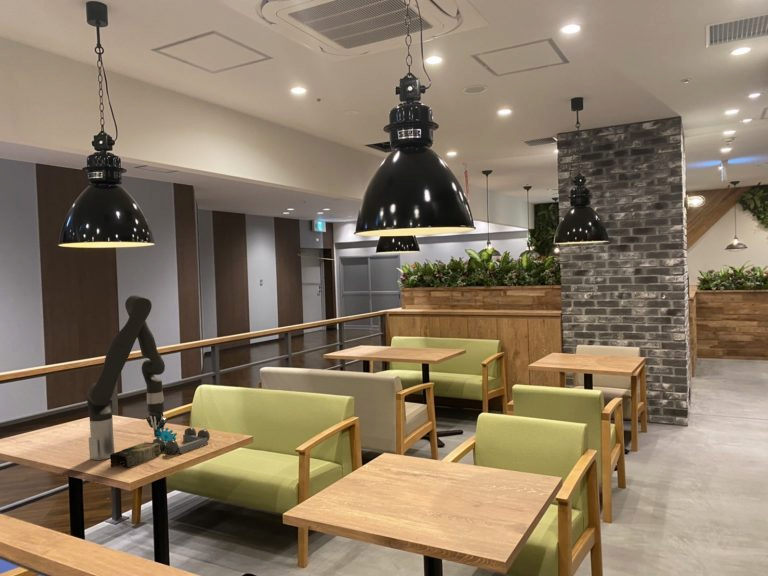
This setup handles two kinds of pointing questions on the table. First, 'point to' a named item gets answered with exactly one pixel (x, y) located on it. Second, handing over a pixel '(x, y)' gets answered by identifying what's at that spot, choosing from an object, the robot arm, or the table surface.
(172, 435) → the gear
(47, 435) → the table surface
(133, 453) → the dark green hollow block
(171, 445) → the chassis bay
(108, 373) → the robot arm
